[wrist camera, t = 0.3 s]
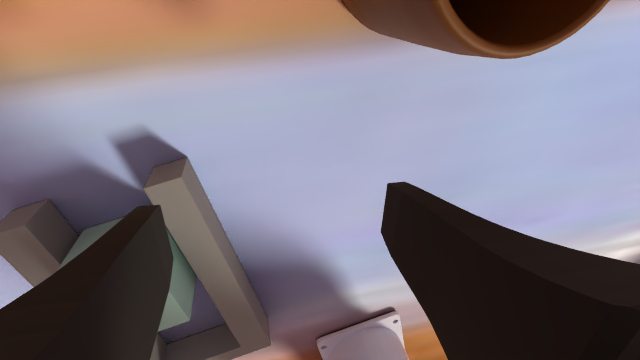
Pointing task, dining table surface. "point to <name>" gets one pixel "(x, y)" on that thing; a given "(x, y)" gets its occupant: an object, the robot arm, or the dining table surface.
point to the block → (181, 277)
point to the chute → (192, 238)
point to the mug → (478, 23)
